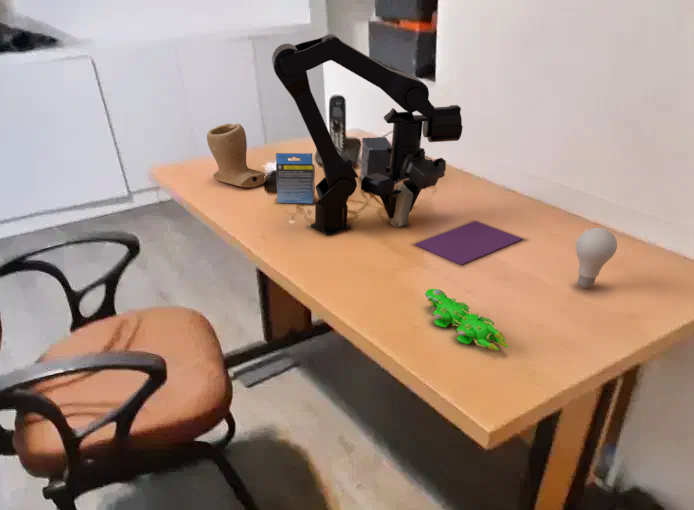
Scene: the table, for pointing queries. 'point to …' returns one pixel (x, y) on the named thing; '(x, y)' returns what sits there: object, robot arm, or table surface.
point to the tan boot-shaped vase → (232, 156)
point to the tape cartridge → (295, 178)
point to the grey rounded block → (402, 207)
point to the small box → (375, 156)
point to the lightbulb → (593, 254)
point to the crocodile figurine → (464, 321)
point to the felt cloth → (468, 242)
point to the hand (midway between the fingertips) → (399, 215)
